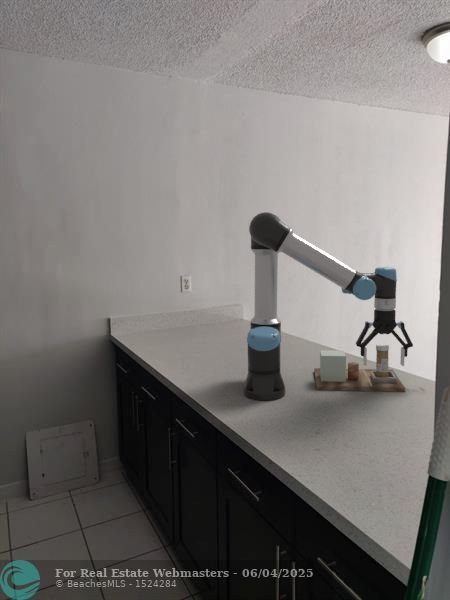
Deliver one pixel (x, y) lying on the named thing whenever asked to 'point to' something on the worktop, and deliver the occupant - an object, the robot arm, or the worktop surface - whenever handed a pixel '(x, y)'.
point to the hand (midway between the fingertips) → (383, 364)
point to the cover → (332, 366)
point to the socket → (383, 378)
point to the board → (357, 381)
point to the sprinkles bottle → (382, 360)
